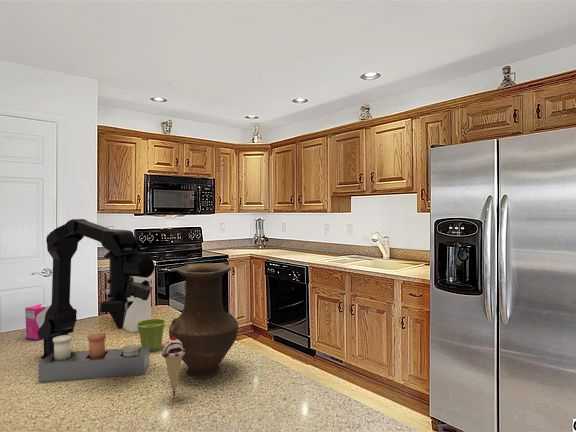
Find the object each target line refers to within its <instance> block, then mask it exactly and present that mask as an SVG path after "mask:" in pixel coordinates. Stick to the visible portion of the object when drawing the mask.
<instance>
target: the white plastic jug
mask: <svg viewBox="0 0 576 432" xmlns="http://www.w3.org/2000/svg"><path fill="white" fill-rule="evenodd" d="M133 278H134V282H137V283H138V282H140V283H142V282H143V281H144V280H147V281H149V282H150V286H152V284H151V281H152V279H153V278H154V272H153V273H152V275H151V276H149V277H147V278H144V277H136V276H133ZM151 294H152V292H151V293H150V296H149V298H148V299H147V300H142V299H141V298H137V297H136V298H134V296H131V297H130V298H127V299H128V301H134V302H133V303H132V305H131V306H130V307H129V308H128V309H127V312H126V317H125V321H124V325H123V328H122V329H124V330H125V331H127V332H130V333H139V330H138V327H137V326H136V323H138V322H140V321H143V320H147V319H152V313H151V310H152V306H151V303H152V301H151V300H152V297H151Z"/></svg>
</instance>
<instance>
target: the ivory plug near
mask: <svg viewBox="0 0 576 432" xmlns="http://www.w3.org/2000/svg"><path fill="white" fill-rule="evenodd" d="M72 340H73V337H72V335H70V334H69V335H61V336H57V337H54V338H53V342H54V361H59V360H69V359H70V358H71V352H72V351H71V350H72V348H71V347H72V346H71V345H72V344H71V341H72Z"/></svg>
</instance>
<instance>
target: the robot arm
mask: <svg viewBox="0 0 576 432" xmlns="http://www.w3.org/2000/svg"><path fill="white" fill-rule="evenodd" d="M85 237H86V238H88V239H91V240H94V241H96V242H100V244H101V246H102V247H103V248H104V249H106V250H107V251H108V252H107V253H106V254H104V256H103V257H104V259H109V278H108V279H107V284H109V293H107V298H106V299H105V300H104V301H103V302H102V303H101V304H100V305H99V313H109V315H110V317H111V318H112V321H113V322H114V324H115V326H116V328H117V329H118V330H122V329H124V328H123V325H124V321H125V317H126V312H127V309H128V308H129V307H130V306H131V305H132V303H133V302H134V301H128V299H127V298H130V297H131V296H134V298H136V297H137V298H141V299H142V300H147V299H148V298H149V296H150V293H151V294H152V291H153V286H152V285H151V286H150V282H151V281H150V282H149V281H147V280H144V281H143V282H142V283H140V282H138V283H137V282H134V278H133V276H136V277H144V278H147V277H149V276H151V275H152V273H153V274H154V271H155V262H154V260H153V259H152V258H151V257H150V253H149V252H143V250H142V247H141V246H140V244H139V242H138V240H137V239H136V237H135V235H134V232H133V231H132V230H128V229H111V228H108V227H105V226H103V225H99V224H97V223H94V222H91V221H88V220H87V219H85V218H72V219H70V220H68V221H67V222H66V223H64V224H62V225H60V226H59V227H57V228H54V229H53V230H52V231H50V233H48V234H47V236H46V240H45V242H46V248H47V252H48V254H49V255H50V256H51V258H52V280H51V281H52V283H51V304H50V307H49V309H48V310H47V312H46V314H45V320H44V323H43V324H42V326H41V327H40V328H39V330H38V331H37V333H38V337H39V338H41V340H43V355H42V356H40V357H41V359H45V358H46V357H47V356H48V355H49V354H51V353H54V342H53V338H54V337H57V336H61V335H70V334H71V333H74V329H75V325H76V322H77V320H78V319H77V313H78V312H77V309H76V308H73V305H72V304H71V275H72V258H73V257H74V255H75V254H76V253H77V251H78V247H79V246H78V245H79V242H80V241H82V240H83V239H84V238H85Z"/></svg>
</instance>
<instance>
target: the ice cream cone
mask: <svg viewBox="0 0 576 432" xmlns="http://www.w3.org/2000/svg"><path fill="white" fill-rule="evenodd" d="M185 352H186V351H185V349H184V348H183V345H182V343H181V340H178V339H176V338H175V337H172V338H171V339H170V338H169V340H167V341H166V342H165V343H164V346H163V350H162V351H161V356H162V358H164V360H165V363H166V369H167V372H168V376H169V380H170V381H169V382H170V386H171V390H172V394H173V397H175V396H176V390H177V385H178V381H179V375H180V371H181V365H182V362H183V360H182V356H183V355H184V354H185Z"/></svg>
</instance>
